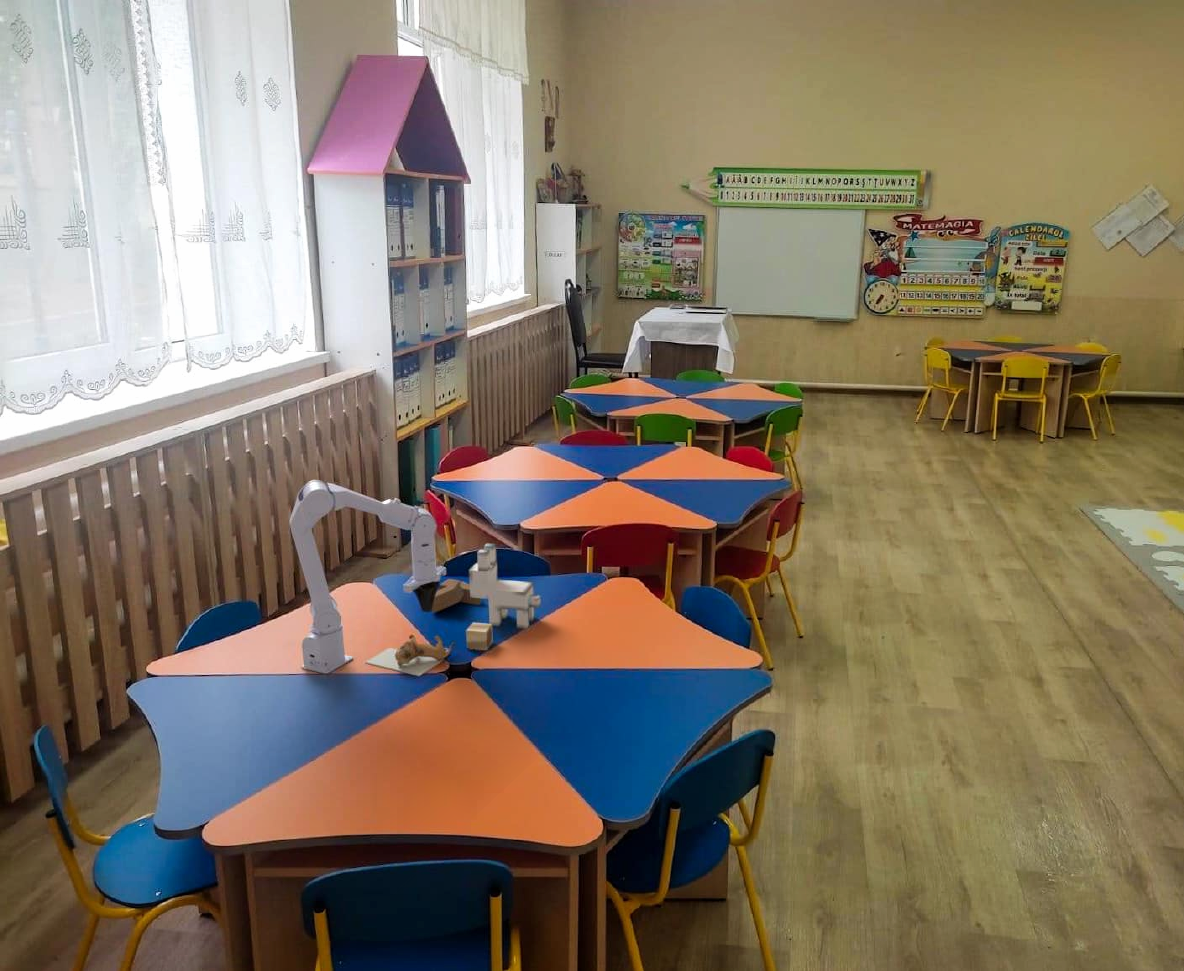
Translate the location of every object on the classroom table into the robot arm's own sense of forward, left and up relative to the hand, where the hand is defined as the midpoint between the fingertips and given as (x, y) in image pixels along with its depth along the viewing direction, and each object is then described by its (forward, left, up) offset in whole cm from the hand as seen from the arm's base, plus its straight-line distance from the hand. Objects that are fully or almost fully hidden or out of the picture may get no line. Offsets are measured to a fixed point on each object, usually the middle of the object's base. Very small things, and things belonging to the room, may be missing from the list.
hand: (426, 610), depth 239 cm
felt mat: (-10, 0, -10) cm, 14 cm away
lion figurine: (-4, -1, -7) cm, 8 cm away
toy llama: (+22, -9, -10) cm, 26 cm away
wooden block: (+26, +10, -10) cm, 30 cm away
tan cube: (+6, -11, -10) cm, 16 cm away
